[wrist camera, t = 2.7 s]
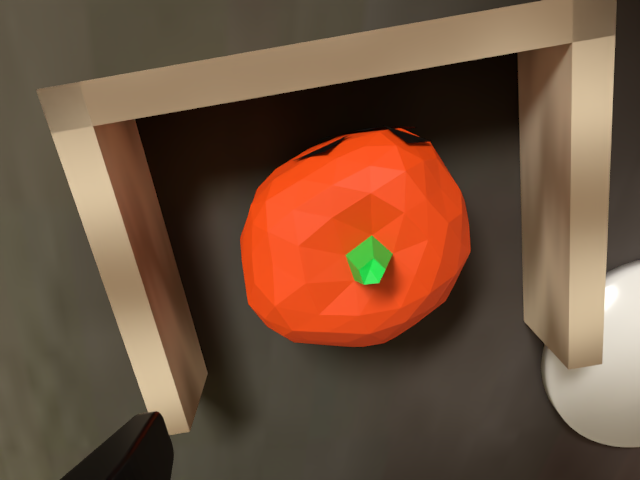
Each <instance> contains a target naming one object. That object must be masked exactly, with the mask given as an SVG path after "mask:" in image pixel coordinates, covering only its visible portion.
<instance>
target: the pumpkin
mask: <svg viewBox="0 0 640 480" xmlns="http://www.w3.org/2000/svg"><path fill="white" fill-rule="evenodd" d="M383 126H385V125H383ZM378 127H379V126H378ZM410 128H416V127H403V126H397V127H388V126H385V127H384V128H376V127H373V128H367V129H362V130H357V131H354V132H349V133H345V134H340V135H336V136H337V137H335V138H333V139H330V140H328V141H325V142H323V143H321V144H318V145H316V146H314V147H311V148H309V149H307V150H306V151H304V152H302V153H301V154H299V155H298V156H296V157H294V158H293V159H291V160H289V161H288V162H286V163H285V164H283V165H281V166H280V167H278V168H276V169H275V170H274V171H273V172H272V173H271V174H270V175H269V177H268V178H267V179H266V180H265V181H264V182H263V183H262V184H261V185H260V186H259V187H258V188H257V191H256V193H255V196H254V199H253V202H252V204H251V206H250V210H249V214H248V217H247V220H246V223H245V226H244V229H243V231H242V234H241V237H240V243H241V255H242V264H243V271H244V278H245V285H246V292H247V299H248V304H249V305H250V307H251V308H252V309H253V310H254V311H255V313H256V314H257V315H258V316H259V317H260V319H261V320H262V321H263V322H264V323H265V325H266V326H267V327H269V328H270V329H272V330H274V331H276V332H277V333H279V334H281V335H282V336H284V337H286V338H287V339H289V340H291V341H293V342H296V343H308V344H320V345H333V346H345V347H365V346H371V345H377V344H382V343H385V342H387V341H389V340H391V339H393V338H395V337H397V336H398V335H400V334H401V333H403V332H404V331H406V330H407V329H409V328H410V327H412V326H413V325H415V324H416V323H418V322H419V321H420V320H421V319H423V318H424V317H425V316H427V315H428V314H429V313H431V312H432V311H433V310H435V309H436V308H437V307H439V306H440V305H441V304H442V303H444V302H445V301H446V299H447V298H448V296H449V294H450V292H451V290H452V288H453V287H454V284H455V282H456V280H457V278H458V276H459V274H460V272H461V270H462V268H463V266H464V264H465V262H466V260H467V258H468V256H469V254H470V252H471V248H470V233H469V221H468V215H467V210H466V205H465V200H464V198H463V195H462V193H461V190H460V189H459V187H458V186H457V184H456V182H455V181H454V179H453V178H452V176H451V174H450V173H449V171H448V170H447V168H446V166H445V165H444V163H443V162H442V160H441V158H440V157H439V155H438V154H437V152H436V150H435V149H434V147H433V145H432V144H431V142H430V140H427V139H424V138H421V137H419V136H417V135H415V134H413V133H411V132H409V131H406V130H404V129H410ZM328 137H331V136H328ZM328 137H325V138H328ZM325 138H322V139H325ZM320 140H321V139H320ZM317 141H318V140H317ZM314 142H315V141H314Z"/></svg>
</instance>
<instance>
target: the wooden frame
mask: <svg viewBox="0 0 640 480" xmlns="http://www.w3.org/2000/svg"><path fill="white" fill-rule="evenodd" d="M616 8H617V0H542V1H537V2H531V3H525V4H520V5H514V6H508V7H503V8H497V9H491V10H485V11H480V12H474V13H468V14H463V15H457V16H451V17H446V18H440V19H434V20H429V21H423V22H417V23H412V24H406V25H400V26H394V27H389V28H383V29H377V30H372V31H366V32H360V33H355V34H349V35H343V36H338V37H332V38H326V39H320V40H315V41H309V42H303V43H298V44H292V45H286V46H281V47H275V48H269V49H264V50H258V51H252V52H246V53H241V54H235V55H229V56H224V57H218V58H212V59H207V60H201V61H195V62H190V63H184V64H178V65H172V66H167V67H161V68H155V69H150V70H144V71H138V72H133V73H127V74H121V75H116V76H110V77H104V78H99V79H93V80H87V81H81V82H76V83H70V84H64V85H59V86H53V87H47V88H42V89H36V91H37V94H38V97H39V100H40V102H41V105H42V108H43V111H44V114H45V117H46V120H47V123H48V125H49V128H50V131H51V134H52V137H53V140H54V143H55V146H56V148H57V151H58V154H59V157H60V160H61V163H62V166H63V169H64V171H65V174H66V177H67V180H68V183H69V186H70V189H71V192H72V194H73V197H74V200H75V203H76V206H77V209H78V212H79V215H80V217H81V220H82V223H83V226H84V229H85V232H86V235H87V238H88V240H89V243H90V246H91V249H92V252H93V255H94V258H95V261H96V263H97V266H98V269H99V272H100V275H101V278H102V281H103V284H104V286H105V289H106V292H107V295H108V298H109V301H110V304H111V307H112V309H113V312H114V315H115V318H116V321H117V324H118V327H119V330H120V332H121V335H122V338H123V341H124V344H125V347H126V350H127V353H128V355H129V358H130V361H131V364H132V367H133V370H134V373H135V376H136V378H137V381H138V384H139V387H140V390H141V393H142V396H143V399H144V401H145V404H146V407H147V410H148V412H154V411H157V412H159V413H161V415H162V416H163V419H164V422H165V424H166V427H167V430H168V433H169V435H172V434H179V433H185V432H190V430H191V426H192V423H193V420H194V417H195V413H196V410H197V407H198V404H199V400H200V397H201V394H202V391H203V388H204V384H205V381H206V378H207V375H208V372H207V369H206V365H205V362H204V358H203V355H202V351H201V348H200V344H199V341H198V337H197V334H196V331H195V327H194V324H193V320H192V317H191V313H190V310H189V306H188V303H187V299H186V296H185V292H184V289H183V285H182V282H181V278H180V275H179V271H178V268H177V264H176V261H175V257H174V254H173V250H172V247H171V243H170V240H169V236H168V233H167V230H166V226H165V223H164V219H163V216H162V212H161V209H160V205H159V202H158V198H157V195H156V191H155V188H154V184H153V181H152V177H151V174H150V170H149V167H148V163H147V160H146V156H145V153H144V149H143V146H142V142H141V139H140V135H139V132H138V129H137V125H136V122H135V119H137V118H143V117H149V116H155V115H160V114H166V113H172V112H178V111H183V110H189V109H195V108H200V107H206V106H212V105H218V104H223V103H229V102H235V101H241V100H246V99H252V98H258V97H264V96H269V95H275V94H281V93H287V92H292V91H298V90H304V89H310V88H315V87H321V86H327V85H333V84H338V83H344V82H350V81H355V80H361V79H367V78H373V77H378V76H384V75H390V74H396V73H401V72H407V71H413V70H419V69H424V68H430V67H436V66H442V65H447V64H453V63H459V62H465V61H470V60H476V59H482V58H488V57H493V56H499V55H505V54H510V53H516V52H518V94H519V136H520V178H521V221H522V263H523V305H524V322H525V323H526V324H527V325H528V326H529V327H530V328H531V329H532V331H533V332H534V333H535V334H536V335H537V336H538V337H539V338H540V339H541V340H542V341H543V343H544V344H545V345H546V346H547V347H548V348H549V349H550V350H551V351H552V352H553V353H554V355H555V356H556V357H557V358H558V359H559V360H560V361H561V362H562V363H563V364H564V365H565V367H566V368H567V369H568V370H569V369H576V368H582V367H588V366H594V365H600V364H602V358H603V333H604V308H605V283H606V258H607V233H608V208H609V183H610V158H611V133H612V108H613V83H614V58H615V33H616Z"/></svg>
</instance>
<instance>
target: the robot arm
mask: <svg viewBox="0 0 640 480" xmlns="http://www.w3.org/2000/svg"><path fill="white" fill-rule="evenodd" d="M173 458H174V452H173V446H172V442H171V439H170V436H169V433H168V430H167V427H166V424H165V422H164V419H163V416H162V415H161V413H159V412H157V411H154V412H148V413H141V414H138V415H136V416H134V417H133V418H132V419H131V420H130V421H128V422H127V423H126V424H125V425H124V426H122V427H121V428H120V429H119V430H118V431H117V432H115V433H114V434H113V435H112V436H111V437H110V438H108V439H107V440H106V441H105V442H104V443H102V444H101V445H100V446H99V447H98V448H97V449H95V450H94V451H93V452H92V453H91V454H90V455H88V456H87V457H86V458H85V459H84V460H82V461H81V462H80V463H79V464H78V465H77V466H75V467H74V468H73V469H72V470H71V471H70V472H68V473H67V474H66V475H65V476H64V477H62V478H61V479H60V480H170V479H171V472H172V466H173Z"/></svg>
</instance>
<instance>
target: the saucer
mask: <svg viewBox="0 0 640 480" xmlns="http://www.w3.org/2000/svg"><path fill="white" fill-rule="evenodd" d="M541 376H542V382H543V386H544V390H545V392H546V394H547V396H548V399H549V400H550V402H551V403H552V405H553V406H554V408H555V409H556V410H557V412H558V413H559V414H560V416H561V417H562V418H563V419H564V421H565V422H566V423H567V424H568V425H569V426H570V427H571V428H572V429H574V430H575V431H576V432H578V433H579V434H580V435H582V436H584V437H586V438H588V439H590V440H592V441H595V442H598V443H601V444H605V445H609V446H616V447H640V260H635V261H632V262H630V263H627V264H624V265H621V266H619V267H617V268H614V269H612V270H610V271H608V272H606V283H605V308H604V333H603V358H602V364H600V365H594V366H588V367H582V368H576V369H569V370H568V369H567V368H566V367H565V365H564V364H563V363H562V362H561V361H560V360H559V359H558V358H557V357H556V356H555V355H554V353H553V352H552V351H551V350H550V349H549V348H548V347H547V346H546V345H545V344H544V348H543V353H542V358H541Z"/></svg>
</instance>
